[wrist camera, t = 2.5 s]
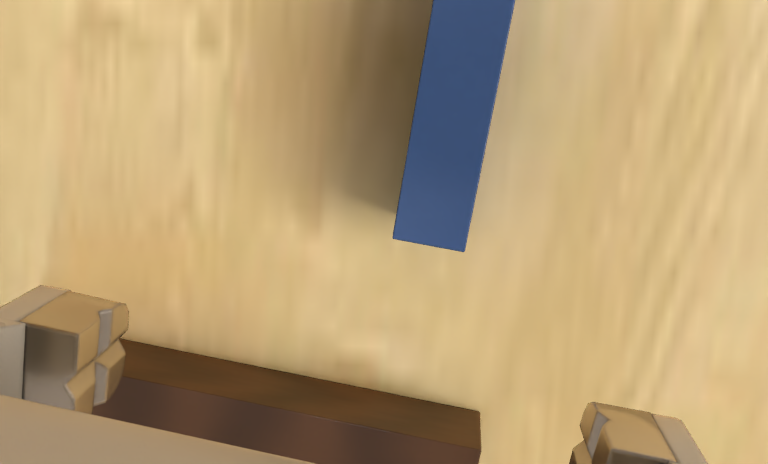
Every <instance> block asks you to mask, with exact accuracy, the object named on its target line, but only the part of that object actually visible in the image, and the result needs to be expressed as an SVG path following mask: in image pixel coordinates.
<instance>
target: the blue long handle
mask: <svg viewBox="0 0 768 464" xmlns="http://www.w3.org/2000/svg"><path fill="white" fill-rule="evenodd" d="M514 4H515V0H433V5H432V11H431V16H430V22H429V28H428V34H427V40H426V45H425V51H424V57H423V63H422V69H421V75H420V80H419V86H418V92H417V98H416V104H415V109H414V115H413V121H412V127H411V133H410V139H409V144H408V150H407V156H406V162H405V168H404V173H403V179H402V185H401V191H400V197H399V203H398V208H397V214H396V220H395V226H394V232H393V239H397V240H402V241H407V242H413V243H418V244H423V245H429V246H434V247H439V248H445V249H450V250H455V251H461V252H464V251H465V247H466V242H467V237H468V232H469V227H470V222H471V217H472V212H473V207H474V202H475V197H476V192H477V187H478V182H479V177H480V173H481V168H482V163H483V158H484V153H485V148H486V143H487V138H488V133H489V128H490V123H491V118H492V113H493V108H494V103H495V98H496V93H497V88H498V83H499V78H500V73H501V68H502V63H503V58H504V53H505V48H506V44H507V39H508V34H509V29H510V24H511V19H512V14H513V9H514Z"/></svg>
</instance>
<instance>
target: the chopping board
mask: <svg viewBox="0 0 768 464" xmlns="http://www.w3.org/2000/svg"><path fill="white" fill-rule="evenodd" d="M119 341H120V343H121V345H122V346H123V348H124V350H125V352H126V357H125V366H124V370H123V374H122V378H121V381H120V383H119V385H118V387H117V389H116V391H115V393H114V394H113V395H112V396H111V398H110V399H109V400H108V401H107V402H106V403H103V404H100V405H97V406H93V415H96V416H101V417H106V418H110V419H115V420H119V421H124V422H128V423H133V424H137V425H142V426H147V427H151V428H156V429H160V430H165V431H169V432H174V433H178V434H183V435H188V436H192V437H197V438H201V439H206V440H210V441H215V442H219V443H224V444H229V445H233V446H238V447H242V448H247V449H251V450H256V451H260V452H265V453H270V454H274V455H279V456H283V457H288V458H292V459H297V460H301V461H306V462H311V463H315V464H478V463H479V458H480V454H481V430H480V412H478V411H473V410H468V409H463V408H458V407H453V406H448V405H443V404H438V403H433V402H428V401H424V400H419V399H414V398H409V397H404V396H399V395H394V394H389V393H384V392H379V391H374V390H369V389H364V388H359V387H355V386H350V385H345V384H340V383H335V382H330V381H325V380H320V379H315V378H310V377H305V376H300V375H295V374H290V373H286V372H281V371H276V370H271V369H266V368H261V367H256V366H251V365H246V364H241V363H236V362H231V361H226V360H221V359H217V358H212V357H207V356H202V355H197V354H192V353H187V352H182V351H177V350H172V349H167V348H162V347H157V346H152V345H148V344H143V343H138V342H133V341H128V340H123V339H119Z"/></svg>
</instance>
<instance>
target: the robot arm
mask: <svg viewBox="0 0 768 464" xmlns="http://www.w3.org/2000/svg"><path fill="white" fill-rule="evenodd" d="M128 320H129V311H128V308H127V306H126V304H124V303H120V302H115V301H111V300H106V299H102V298H98V297H93V296H89V295H85V294H80V293H76V292H71V291H70V290H66V289H61V288H55V287H50V286H44V285H40V286H38V287H36V288H34V289H32V290H31V291H29V292H27V293H25V294H23V295H22V296H20V297H18V298H16V299H15V300H13V301H11V302H9V303H7V304H6V305H4V306H2V307H0V464H315V463H311V462H306V461H301V460H297V459H292V458H288V457H283V456H279V455H274V454H270V453H265V452H260V451H256V450H251V449H247V448H242V447H238V446H233V445H229V444H224V443H219V442H215V441H210V440H206V439H201V438H197V437H192V436H188V435H183V434H178V433H174V432H169V431H165V430H160V429H156V428H151V427H147V426H142V425H137V424H133V423H128V422H124V421H119V420H115V419H110V418H106V417H101V416H96V415H93V406H97V405H100V404H103V403H106V402H107V401H108V400H109V399H110V398H111V396H112V395H113V394H114V393H115V391H116V389H117V387H118V385H119V383H120V381H121V378H122V374H123V370H124V366H125V357H126V352H125V350H124V348H123V346H122V345H121V343H120V341H119V338H120V337H121V336H122V335H123V334H124V333H125V332H126V331H127V330H128ZM580 428H581V431H582V434H583V438H584V440H583V441H582V442H581V443H580V444H578V445H577V446H576V447H574V448H573V451H572V455H571V459H570V463H569V464H708V463H707V461H706V459H705V458H704V456H703V455H702V453H701V451H700V450H699V448H698V446H697V445H696V443H695V441H694V440H693V438H692V437H691V435H690V433H689V432H688V430H687V428H686V427H685V425H684V423H683V422H682V420H679V419H677V418H673V417H668V416H662V415H656V414H651V413H650V412H644V411H639V410H634V409H628V408H623V407H618V406H612V405H607V404H602V403H596V402H591V403H588V404H587V406H586V409H585V411H584V413H583V416H582V420H581V423H580Z"/></svg>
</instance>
